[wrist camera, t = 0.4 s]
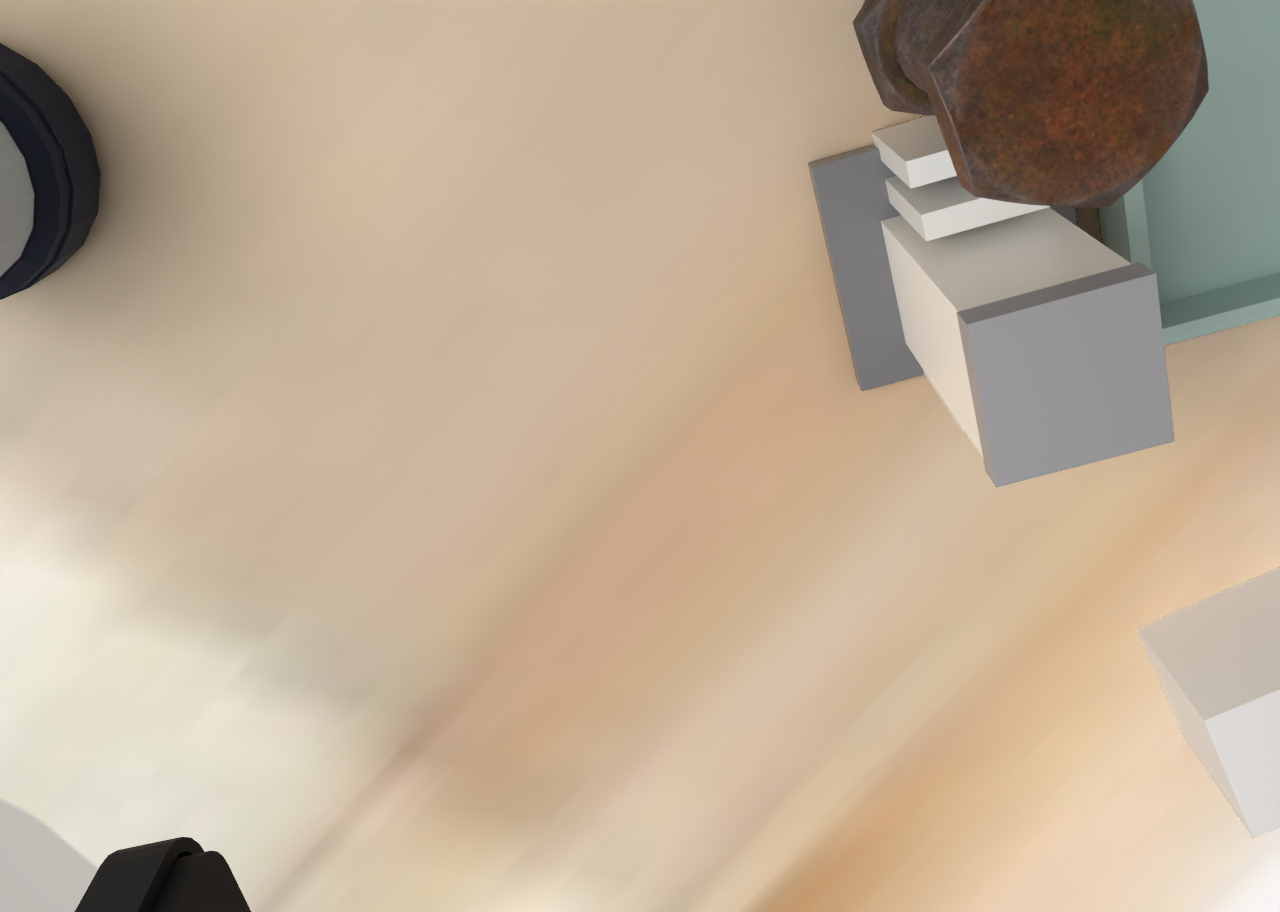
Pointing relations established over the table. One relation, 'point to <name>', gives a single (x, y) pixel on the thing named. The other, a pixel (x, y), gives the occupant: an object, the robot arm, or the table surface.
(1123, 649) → the table surface
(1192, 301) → the tray
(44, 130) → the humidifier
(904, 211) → the block
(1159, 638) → the light grey cube
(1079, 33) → the bolt
